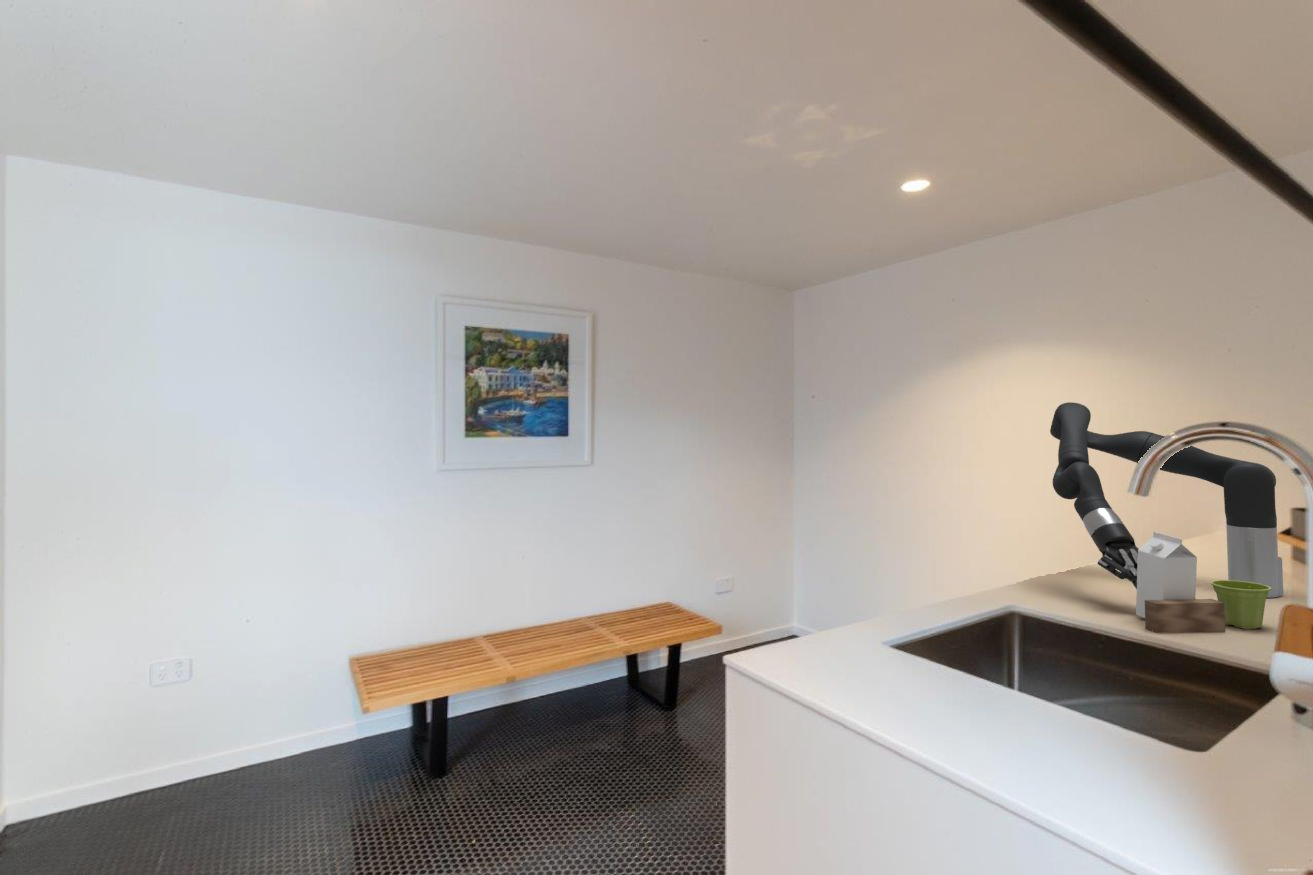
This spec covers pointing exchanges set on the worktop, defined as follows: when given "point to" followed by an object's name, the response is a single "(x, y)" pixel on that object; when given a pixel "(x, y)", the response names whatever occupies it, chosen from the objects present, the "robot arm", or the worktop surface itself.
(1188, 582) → the milk carton
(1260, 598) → the plant pot
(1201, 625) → the brown block
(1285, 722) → the worktop surface
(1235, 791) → the worktop surface
